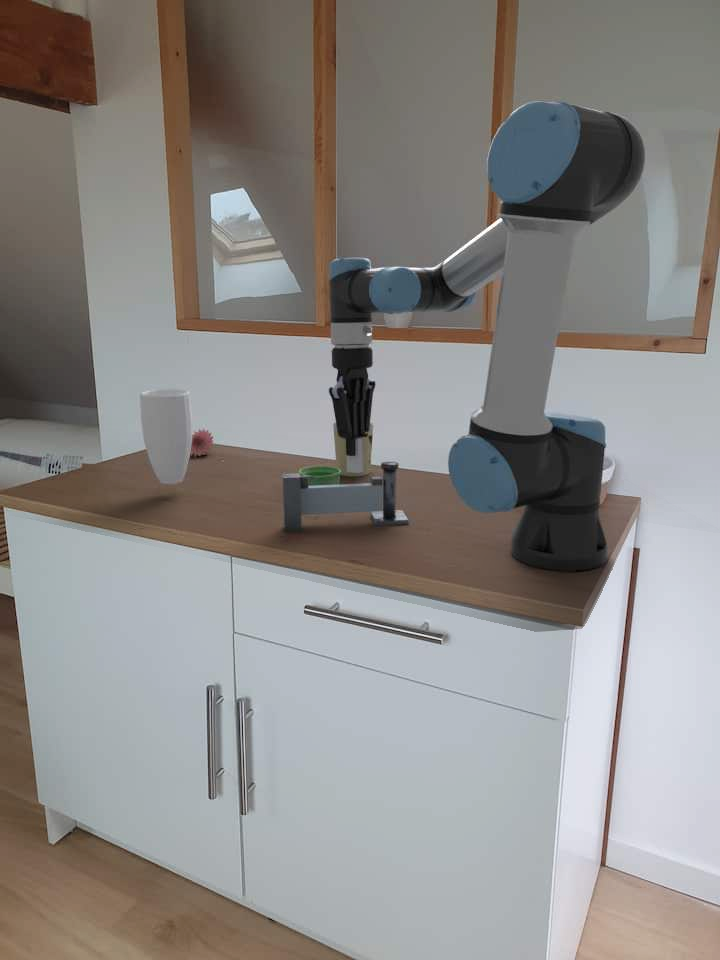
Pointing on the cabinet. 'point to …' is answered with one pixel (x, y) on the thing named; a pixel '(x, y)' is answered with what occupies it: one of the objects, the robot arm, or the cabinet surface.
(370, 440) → the coffee cup
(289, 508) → the stile
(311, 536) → the cabinet surface
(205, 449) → the flower
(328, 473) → the ramekin
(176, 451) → the cup
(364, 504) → the gate
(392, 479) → the pivot post
